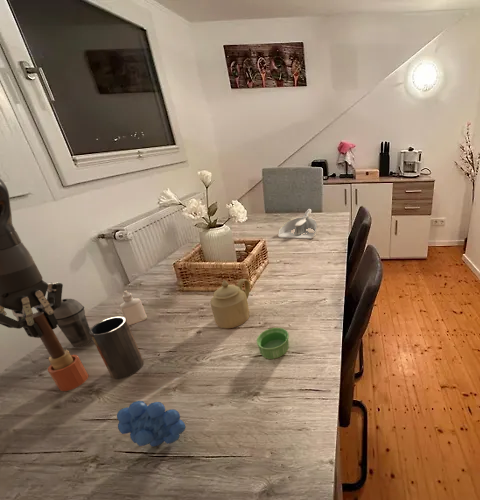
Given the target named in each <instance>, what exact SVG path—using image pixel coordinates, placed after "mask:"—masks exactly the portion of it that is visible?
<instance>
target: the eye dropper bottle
mask: <svg viewBox="0 0 480 500" xmlns="http://www.w3.org/2000/svg"><path fill="white" fill-rule="evenodd" d="M121 297H122V300H123V302H122V303H120V305H119V309H120V311H121V314H122V317H124V318H125V319H126V321H127V323H128V326H131V325H134V324H137V323H140V322H141V321H142V322H144V321H145V320H146V319H147V318H148V316H147V313H146V310H145V308H144V305H143V303H142V300H141V299H140V298H138V297H135V298H134V297H133V294H132V293H131V292H128V291H127V290H124V291H123V295H122V296H121Z"/></svg>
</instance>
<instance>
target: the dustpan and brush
mask: <svg viewBox="0 0 480 500" xmlns="http://www.w3.org/2000/svg"><path fill="white" fill-rule="evenodd" d="M311 214H312V209H311V208H308V209H307V210H306V211H305V212H304V214H303V216H298V217H295V218H292V219H289V220H288V221H286V222H285V223H283V225H282V226H281V227H280V228H279V230H278V232H277V237H278V238H279V239H280V238H281V239H299V240H301V239H303V240H304V239H305V240H312V239H313V238H314V239H315V237H316V234H317V229H318V223H317V221H316V219H314V218H312V217H309V216H310V215H311ZM308 228H311V229H313V230H314V231H315V232H314V233H309V232H308V231H306V229H308ZM293 229H295V232H294V234H293V233H291V230H293ZM303 233H305V234H303ZM306 233H307V234H306ZM301 234H303V235H301Z"/></svg>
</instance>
